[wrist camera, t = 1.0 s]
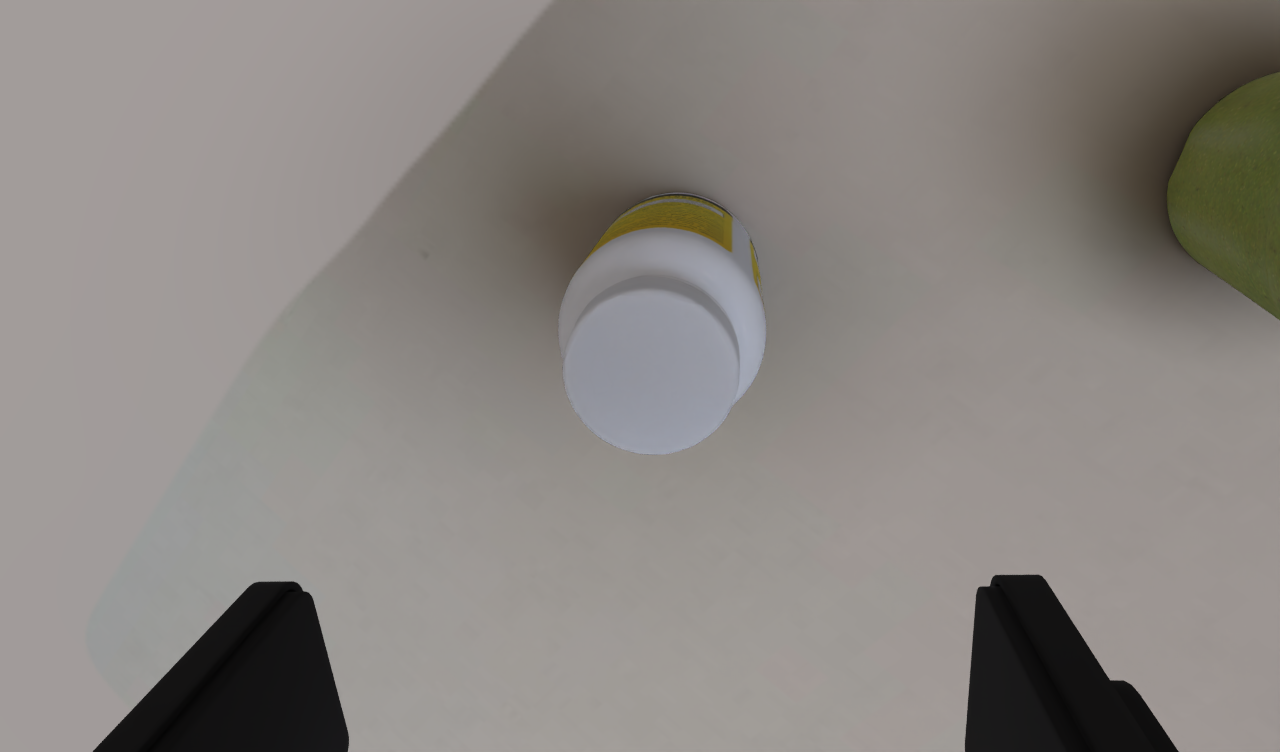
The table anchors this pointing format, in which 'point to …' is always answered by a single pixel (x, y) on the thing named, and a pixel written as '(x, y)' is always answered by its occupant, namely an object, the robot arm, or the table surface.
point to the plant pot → (1234, 191)
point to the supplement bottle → (663, 325)
